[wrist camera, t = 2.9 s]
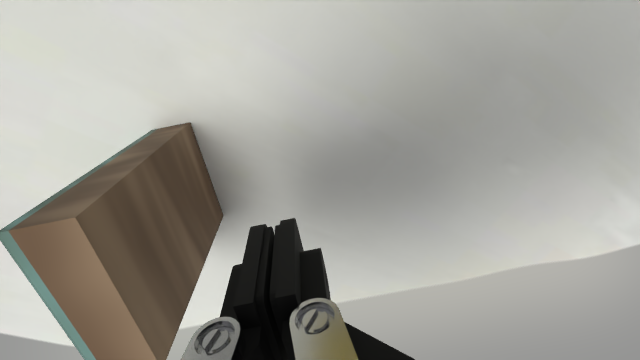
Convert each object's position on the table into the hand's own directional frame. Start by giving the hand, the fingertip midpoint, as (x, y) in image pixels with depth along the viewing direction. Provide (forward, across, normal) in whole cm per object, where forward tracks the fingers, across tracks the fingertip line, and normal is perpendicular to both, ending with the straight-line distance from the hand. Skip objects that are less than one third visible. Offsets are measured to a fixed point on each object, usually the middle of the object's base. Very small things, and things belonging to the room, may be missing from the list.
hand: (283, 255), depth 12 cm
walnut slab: (+11, +7, 0) cm, 13 cm away
